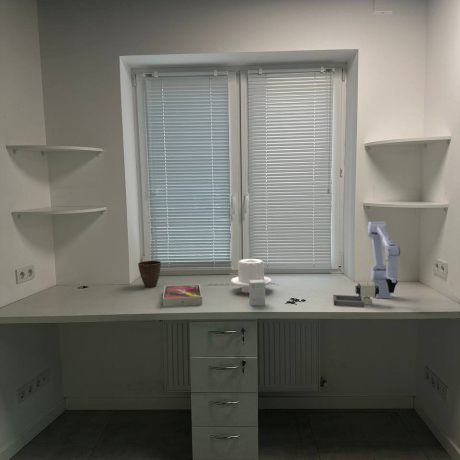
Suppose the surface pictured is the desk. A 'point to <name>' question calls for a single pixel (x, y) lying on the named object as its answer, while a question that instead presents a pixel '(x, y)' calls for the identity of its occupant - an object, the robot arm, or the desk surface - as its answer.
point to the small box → (256, 292)
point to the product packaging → (182, 295)
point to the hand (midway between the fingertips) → (391, 292)
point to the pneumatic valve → (366, 292)
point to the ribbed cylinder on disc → (250, 273)
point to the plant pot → (150, 272)
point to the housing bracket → (353, 301)
